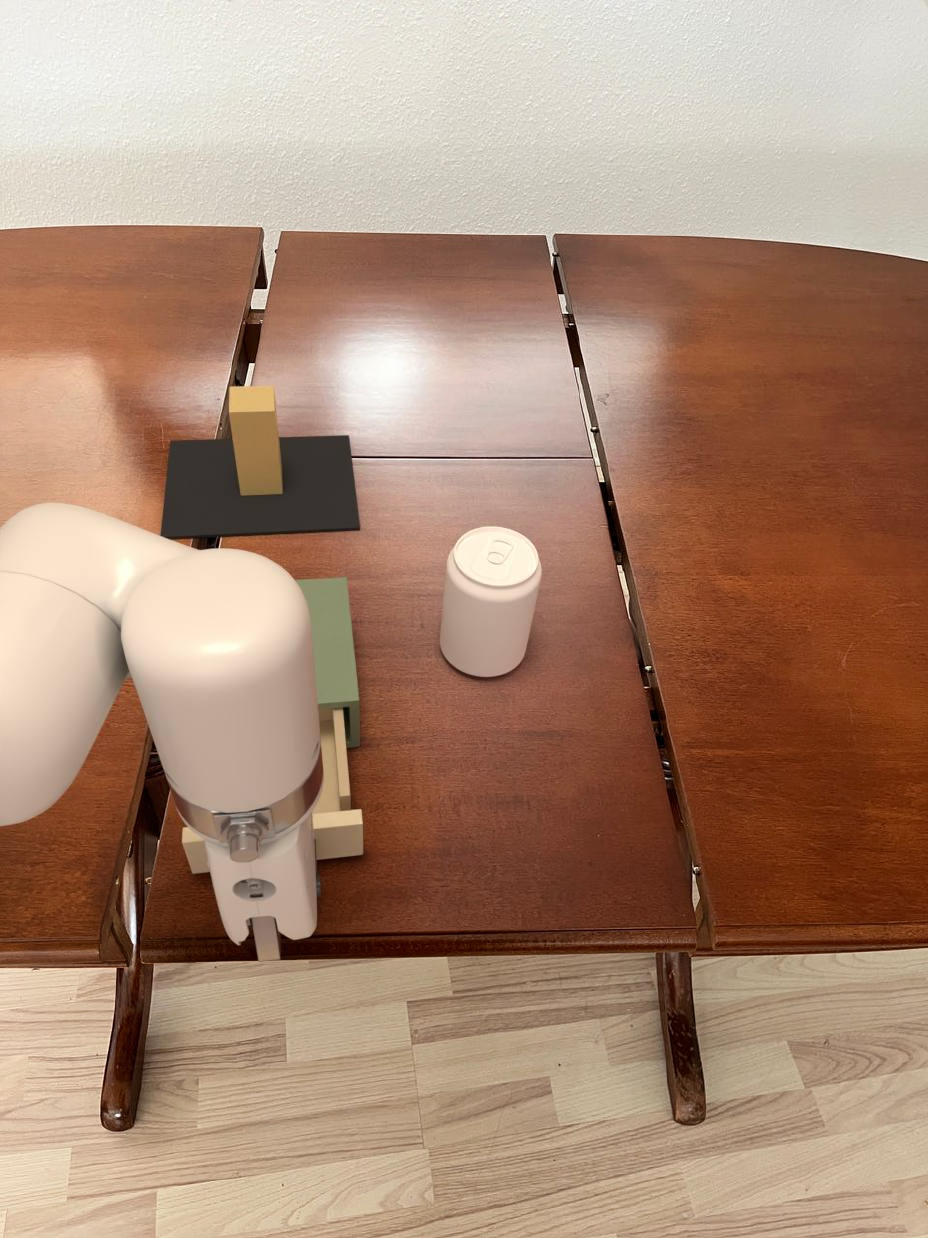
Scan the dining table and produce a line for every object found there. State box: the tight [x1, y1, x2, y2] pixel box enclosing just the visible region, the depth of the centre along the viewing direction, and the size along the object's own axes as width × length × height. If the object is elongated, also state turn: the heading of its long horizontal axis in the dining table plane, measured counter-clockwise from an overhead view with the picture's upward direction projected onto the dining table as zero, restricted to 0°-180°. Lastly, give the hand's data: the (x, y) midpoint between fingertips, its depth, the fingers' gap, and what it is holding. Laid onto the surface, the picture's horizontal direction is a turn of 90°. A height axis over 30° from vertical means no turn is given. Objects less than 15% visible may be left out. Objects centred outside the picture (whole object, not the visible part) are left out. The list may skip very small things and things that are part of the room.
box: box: [228, 385, 283, 496], centre depth 89 cm, size 4×4×11 cm
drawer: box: [181, 707, 364, 899], centre depth 64 cm, size 17×12×5 cm
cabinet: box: [294, 576, 361, 749], centre depth 73 cm, size 14×14×7 cm
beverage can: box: [439, 525, 543, 678], centre depth 76 cm, size 8×8×12 cm
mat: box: [160, 434, 361, 540], centre depth 93 cm, size 20×16×1 cm
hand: (277, 915), depth 56 cm, fingers closed
